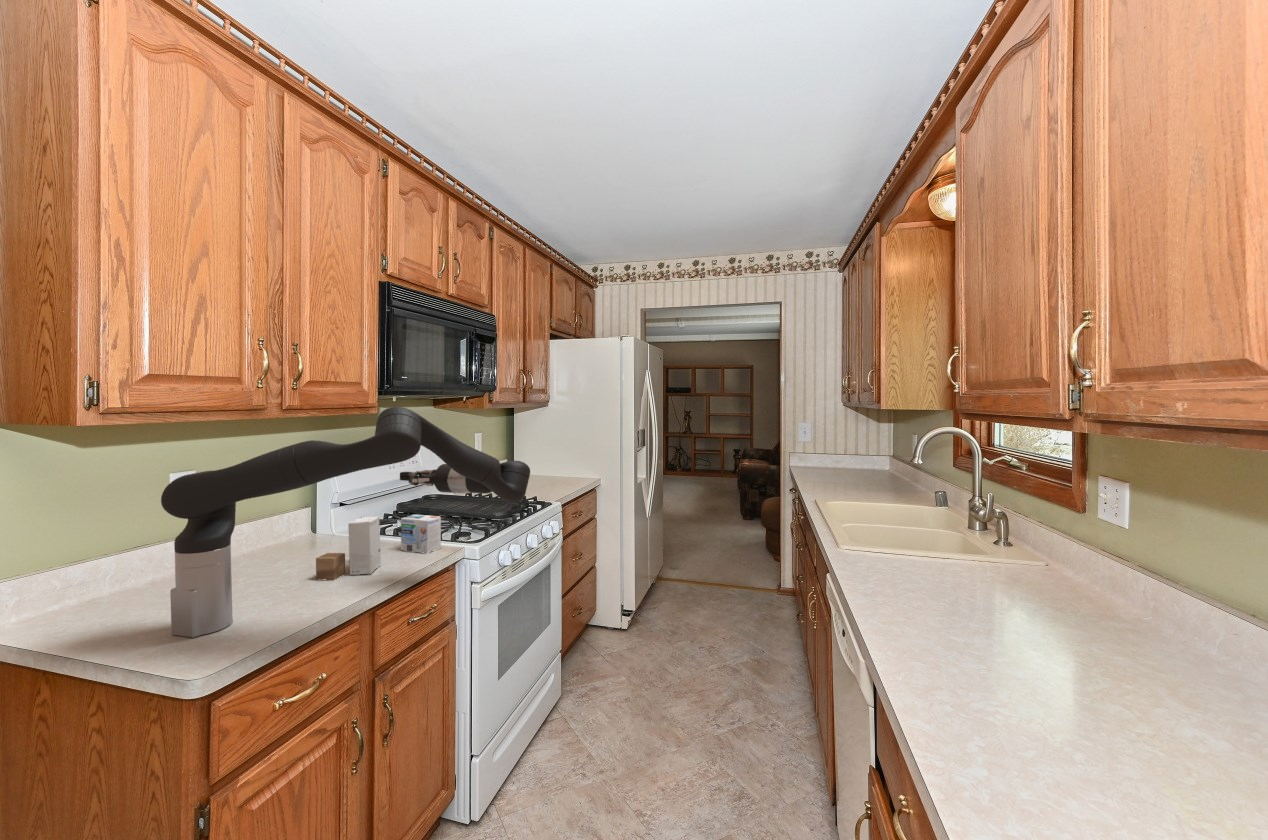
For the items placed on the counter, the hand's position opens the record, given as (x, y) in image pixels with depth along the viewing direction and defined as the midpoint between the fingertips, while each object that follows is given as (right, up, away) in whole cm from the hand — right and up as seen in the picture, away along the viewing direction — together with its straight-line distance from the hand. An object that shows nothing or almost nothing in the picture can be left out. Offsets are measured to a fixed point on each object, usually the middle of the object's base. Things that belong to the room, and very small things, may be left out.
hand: (401, 475), depth 142 cm
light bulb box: (-6, -27, +27) cm, 39 cm away
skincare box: (-13, -28, +7) cm, 32 cm away
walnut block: (-20, -28, +1) cm, 34 cm away
